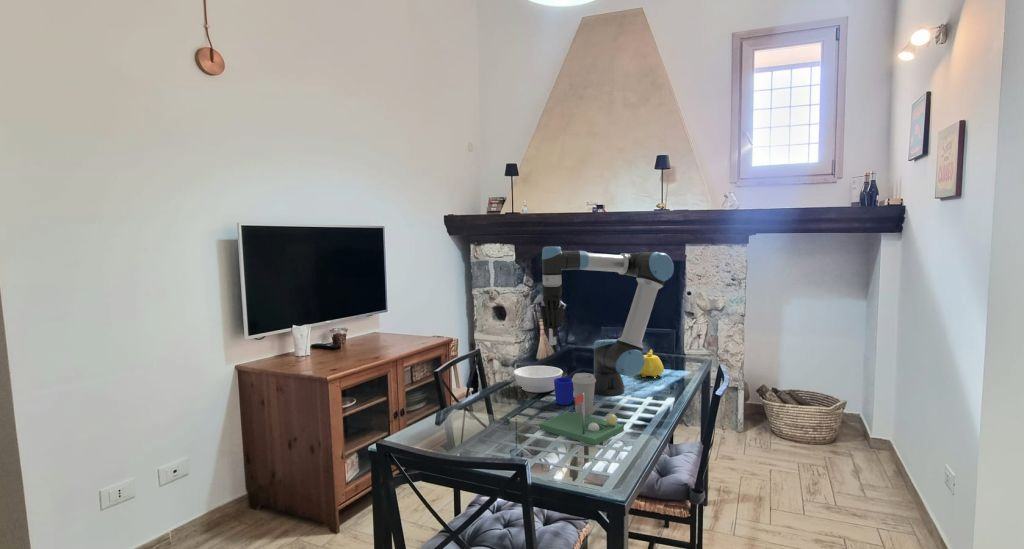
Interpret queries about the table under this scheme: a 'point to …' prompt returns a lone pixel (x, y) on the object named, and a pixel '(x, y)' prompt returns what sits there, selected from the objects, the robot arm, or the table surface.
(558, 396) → the mug
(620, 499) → the table surface
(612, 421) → the yellow ball
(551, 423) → the putting mat
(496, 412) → the table surface
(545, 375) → the bowl
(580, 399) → the flag pin
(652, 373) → the teapot
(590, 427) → the white ball
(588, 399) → the coffee cup
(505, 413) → the table surface
